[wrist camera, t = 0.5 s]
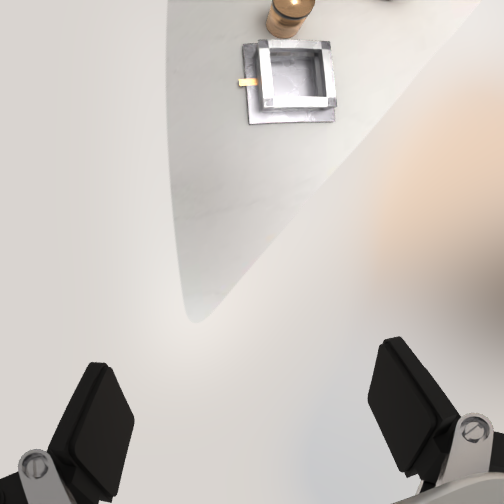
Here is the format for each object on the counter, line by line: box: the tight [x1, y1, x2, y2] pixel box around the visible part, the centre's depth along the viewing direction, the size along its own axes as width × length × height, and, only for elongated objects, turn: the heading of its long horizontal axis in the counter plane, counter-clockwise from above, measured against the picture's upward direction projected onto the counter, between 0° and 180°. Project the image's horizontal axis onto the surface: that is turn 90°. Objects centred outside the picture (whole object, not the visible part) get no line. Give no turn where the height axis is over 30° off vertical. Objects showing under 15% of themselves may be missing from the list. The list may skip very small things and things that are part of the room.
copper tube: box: [266, 0, 315, 39], centre depth 25 cm, size 4×4×8 cm
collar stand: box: [239, 40, 337, 124], centre depth 29 cm, size 10×11×6 cm
